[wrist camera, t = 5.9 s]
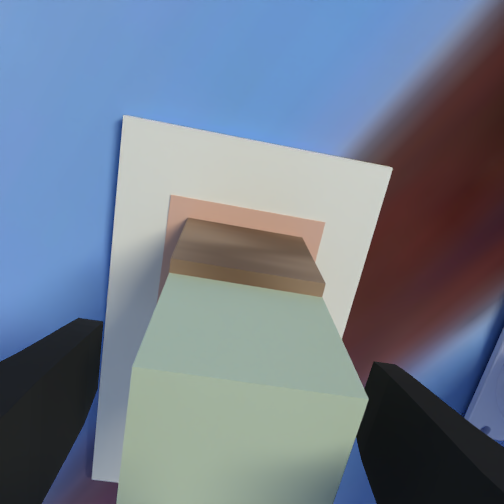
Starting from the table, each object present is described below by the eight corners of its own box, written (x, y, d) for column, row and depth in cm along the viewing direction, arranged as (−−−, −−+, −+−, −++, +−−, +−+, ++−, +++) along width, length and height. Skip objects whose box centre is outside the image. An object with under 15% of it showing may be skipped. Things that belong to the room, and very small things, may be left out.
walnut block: (302, 237, 16) (325, 283, 12) (278, 336, 18) (291, 408, 14) (187, 217, 16) (170, 258, 12) (173, 320, 17) (152, 390, 13)
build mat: (389, 166, 16) (393, 168, 16) (292, 494, 21) (293, 502, 21) (126, 115, 15) (122, 115, 15) (94, 472, 20) (91, 480, 20)
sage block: (322, 297, 12) (368, 399, 8) (289, 419, 14) (313, 561, 9) (169, 272, 12) (132, 366, 8) (151, 402, 13) (111, 541, 9)
